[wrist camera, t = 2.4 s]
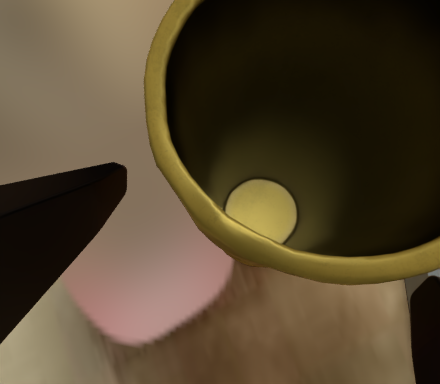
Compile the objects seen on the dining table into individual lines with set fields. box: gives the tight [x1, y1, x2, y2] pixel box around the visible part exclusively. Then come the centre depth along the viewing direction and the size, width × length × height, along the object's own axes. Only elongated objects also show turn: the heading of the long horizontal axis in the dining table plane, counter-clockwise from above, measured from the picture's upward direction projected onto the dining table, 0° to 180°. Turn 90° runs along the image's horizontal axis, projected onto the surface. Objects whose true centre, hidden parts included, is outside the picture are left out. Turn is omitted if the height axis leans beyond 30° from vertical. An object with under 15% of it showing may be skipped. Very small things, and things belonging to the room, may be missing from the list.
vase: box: [144, 0, 440, 285], centre depth 11 cm, size 6×6×14 cm
